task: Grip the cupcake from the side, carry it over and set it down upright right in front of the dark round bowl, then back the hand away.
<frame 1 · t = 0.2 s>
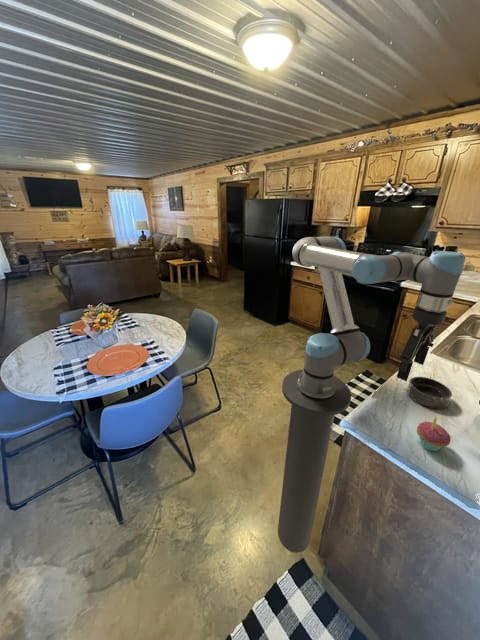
hand: (410, 370, 83), 21 cm above the counter, tool pointing down, fingers open, 13 cm apart
cupcake: (428, 445, 82), on the counter
dark round bowl: (426, 397, 102), on the counter
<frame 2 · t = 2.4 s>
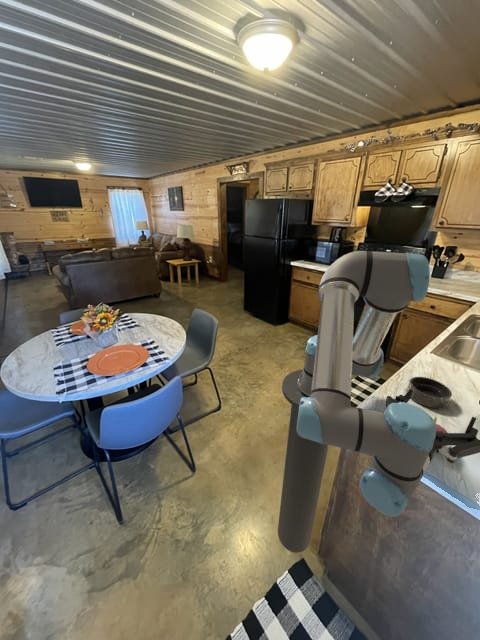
hand: (439, 406, 68), 20 cm above the counter, tool horizontal, fingers open, 13 cm apart
nothing on the counter moved.
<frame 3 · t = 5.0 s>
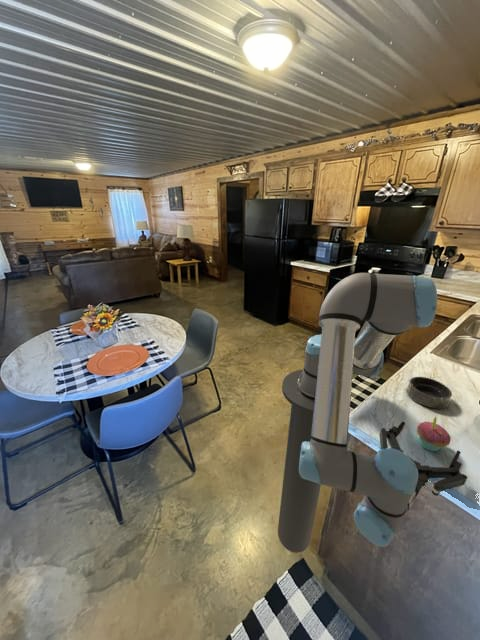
hand: (428, 438, 75), 7 cm above the counter, tool horizontal, fingers open, 13 cm apart
nothing on the counter moved.
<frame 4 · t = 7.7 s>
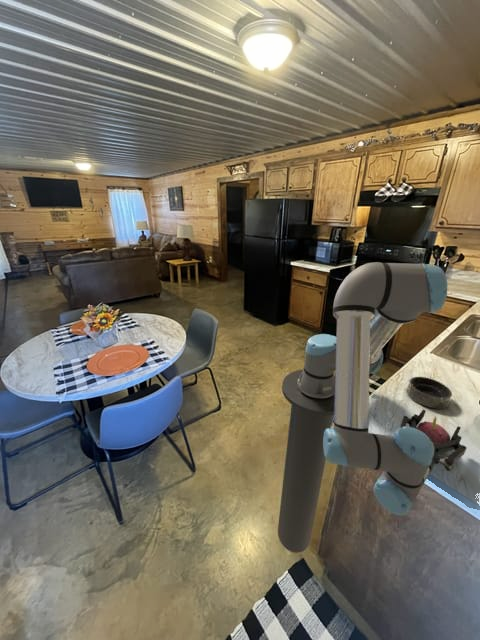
hand: (439, 421, 82), 7 cm above the counter, tool horizontal, fingers closed on cupcake, 8 cm apart
cupcake: (428, 444, 82), on the counter, touching gripper
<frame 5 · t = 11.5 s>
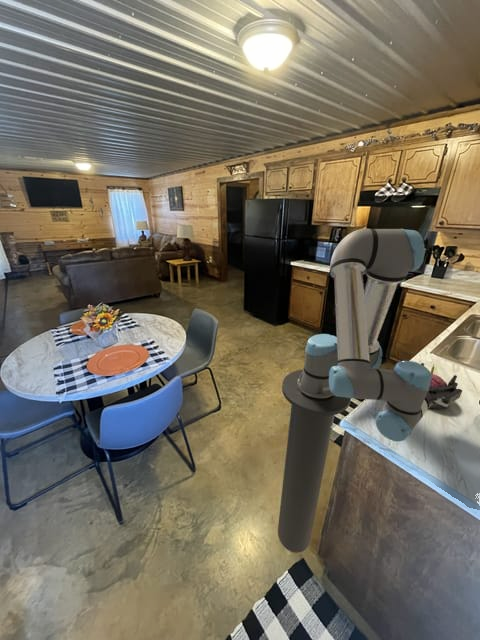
hand: (437, 372, 87), 18 cm above the counter, tool horizontal, fingers closed on cupcake, 8 cm apart
cupcake: (426, 394, 87), point 11 cm above the counter, touching gripper
when the fingers open (7 cm above the counter, at t = 15.5 s): cupcake stays where it is, on the counter.
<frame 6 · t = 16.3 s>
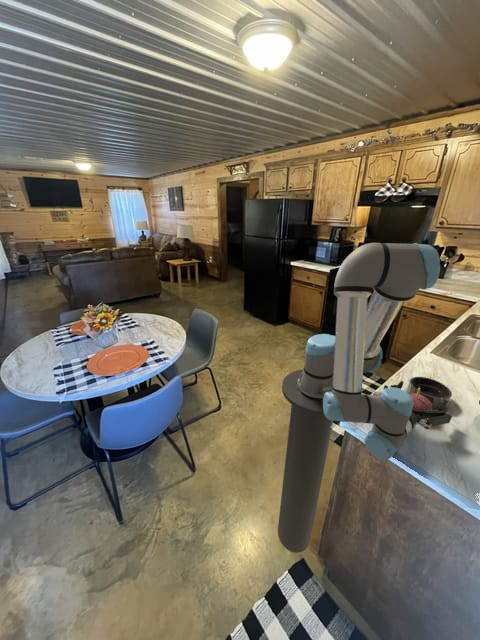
hand: (422, 393, 94), 7 cm above the counter, tool horizontal, fingers open, 13 cm apart
cupcake: (414, 413, 95), on the counter
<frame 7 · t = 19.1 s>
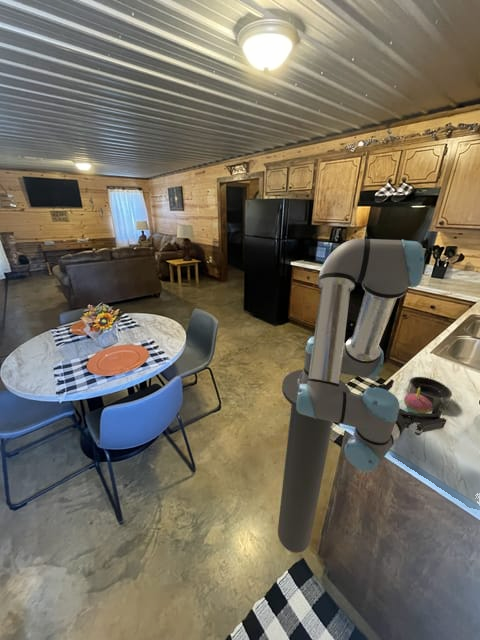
hand: (414, 393, 83), 14 cm above the counter, tool horizontal, fingers open, 13 cm apart
nothing on the counter moved.
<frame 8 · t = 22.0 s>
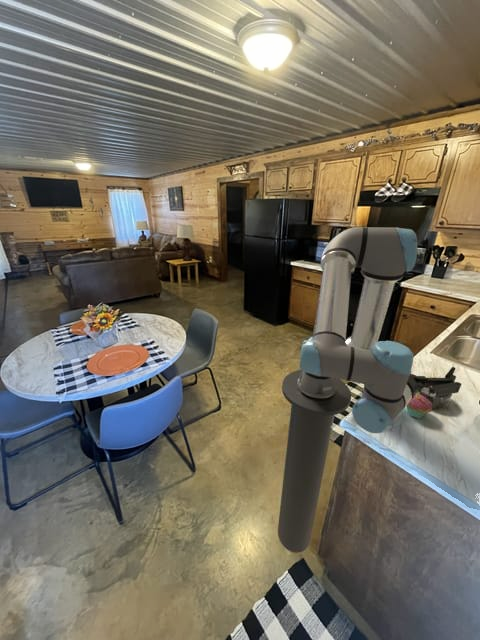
hand: (424, 361, 78), 26 cm above the counter, tool horizontal, fingers open, 13 cm apart
nothing on the counter moved.
at the end: cupcake inside the target area on the counter beside the dark round bowl (0.0 cm from its centre), on the counter; cupcake tilted 0°; the gripper is holding nothing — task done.
